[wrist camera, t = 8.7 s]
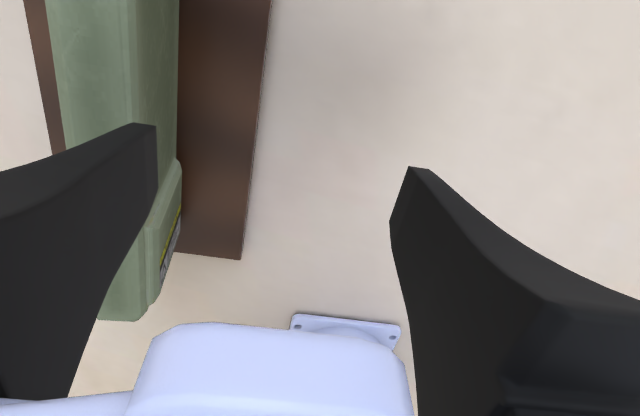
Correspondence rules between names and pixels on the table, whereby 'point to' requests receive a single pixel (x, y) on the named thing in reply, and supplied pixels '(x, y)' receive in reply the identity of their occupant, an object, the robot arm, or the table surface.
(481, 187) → the table surface
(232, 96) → the walnut board
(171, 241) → the handheld radio
